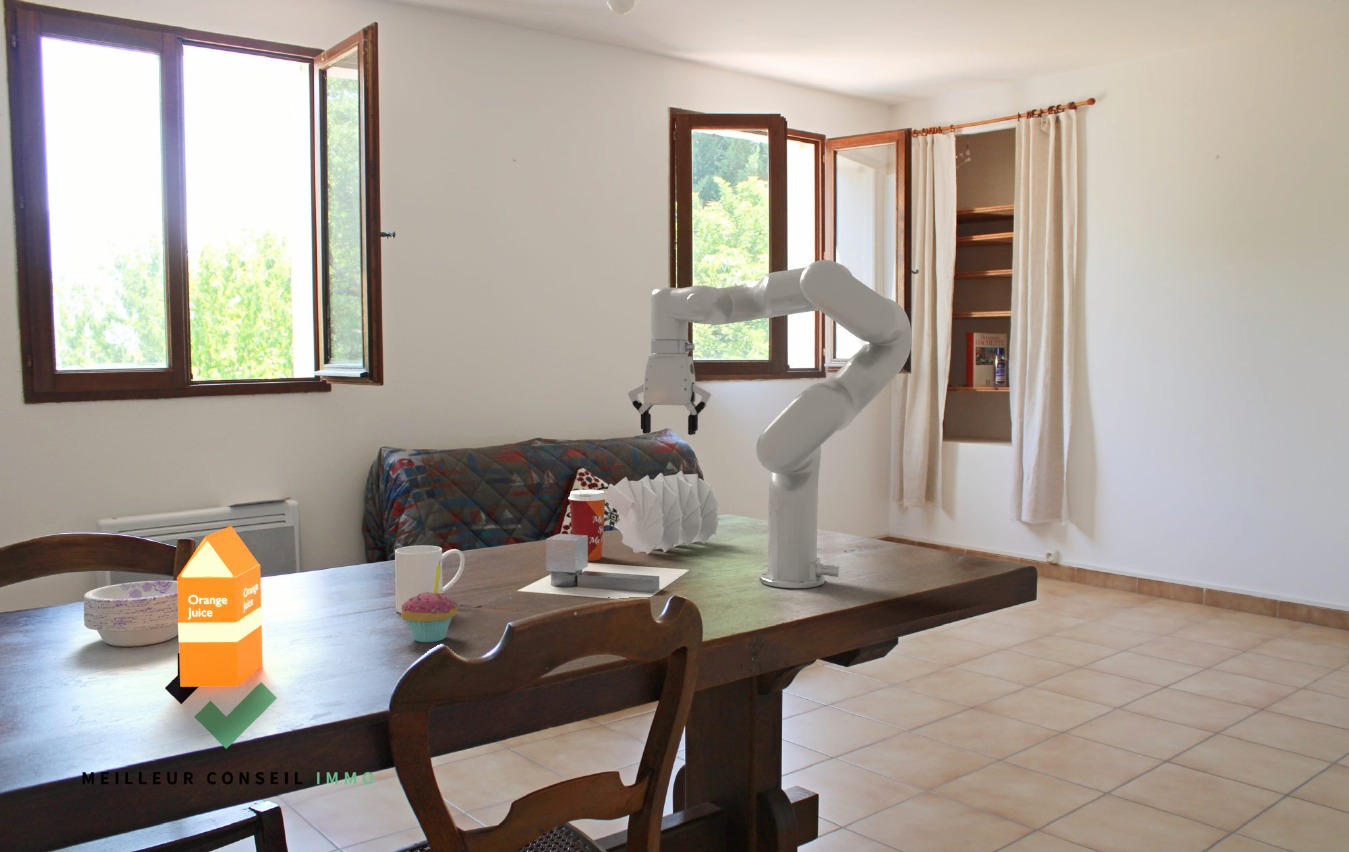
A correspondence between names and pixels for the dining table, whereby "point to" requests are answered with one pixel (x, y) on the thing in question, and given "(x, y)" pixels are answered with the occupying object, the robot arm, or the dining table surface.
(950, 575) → the dining table surface
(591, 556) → the coffee cup
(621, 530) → the white pleated paper lantern
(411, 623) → the cupcake
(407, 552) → the mug
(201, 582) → the orange juice
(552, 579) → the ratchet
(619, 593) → the white square board
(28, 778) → the dining table surface
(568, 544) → the light gray cube
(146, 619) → the paper bowls
